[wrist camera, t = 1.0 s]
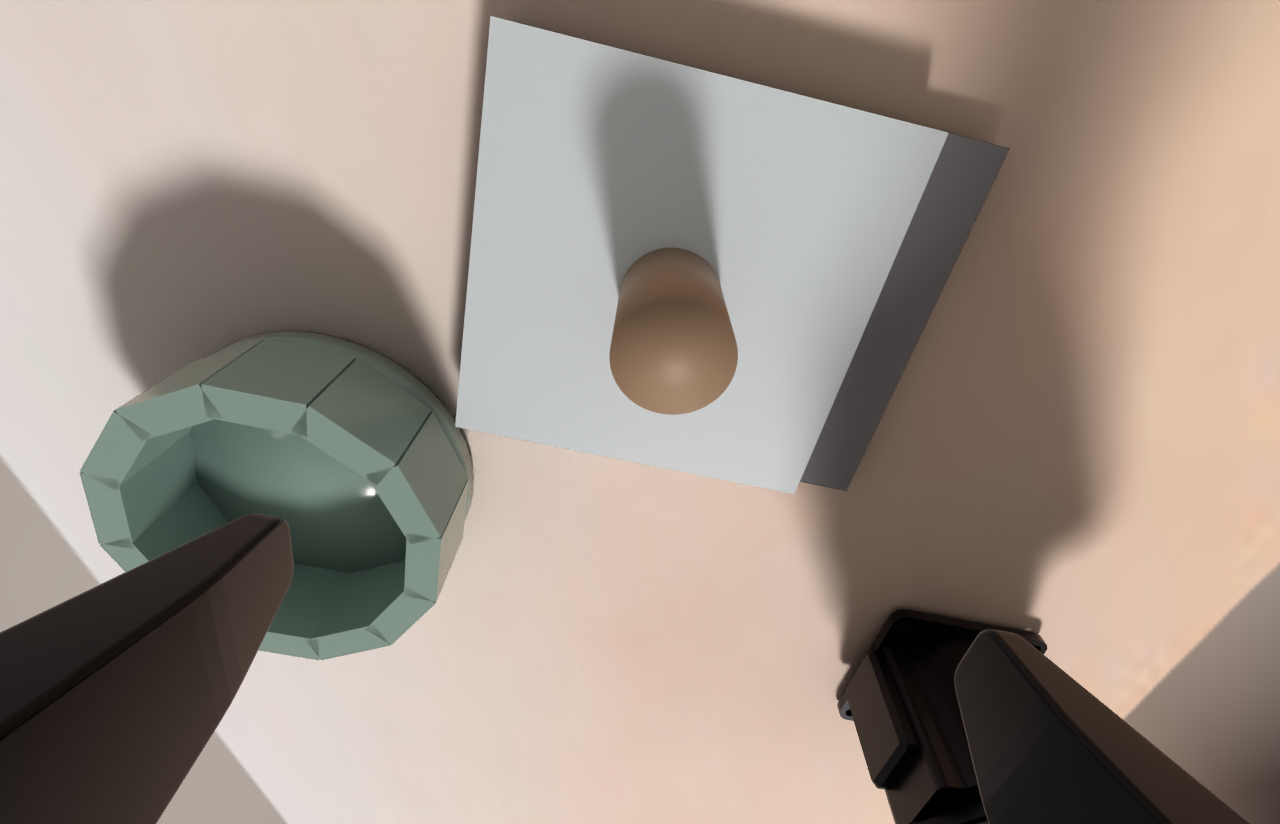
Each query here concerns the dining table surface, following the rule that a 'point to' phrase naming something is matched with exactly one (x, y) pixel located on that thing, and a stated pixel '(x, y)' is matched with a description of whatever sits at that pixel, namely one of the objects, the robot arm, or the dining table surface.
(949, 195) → the mat
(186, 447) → the bowl
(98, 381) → the dining table surface
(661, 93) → the lid
